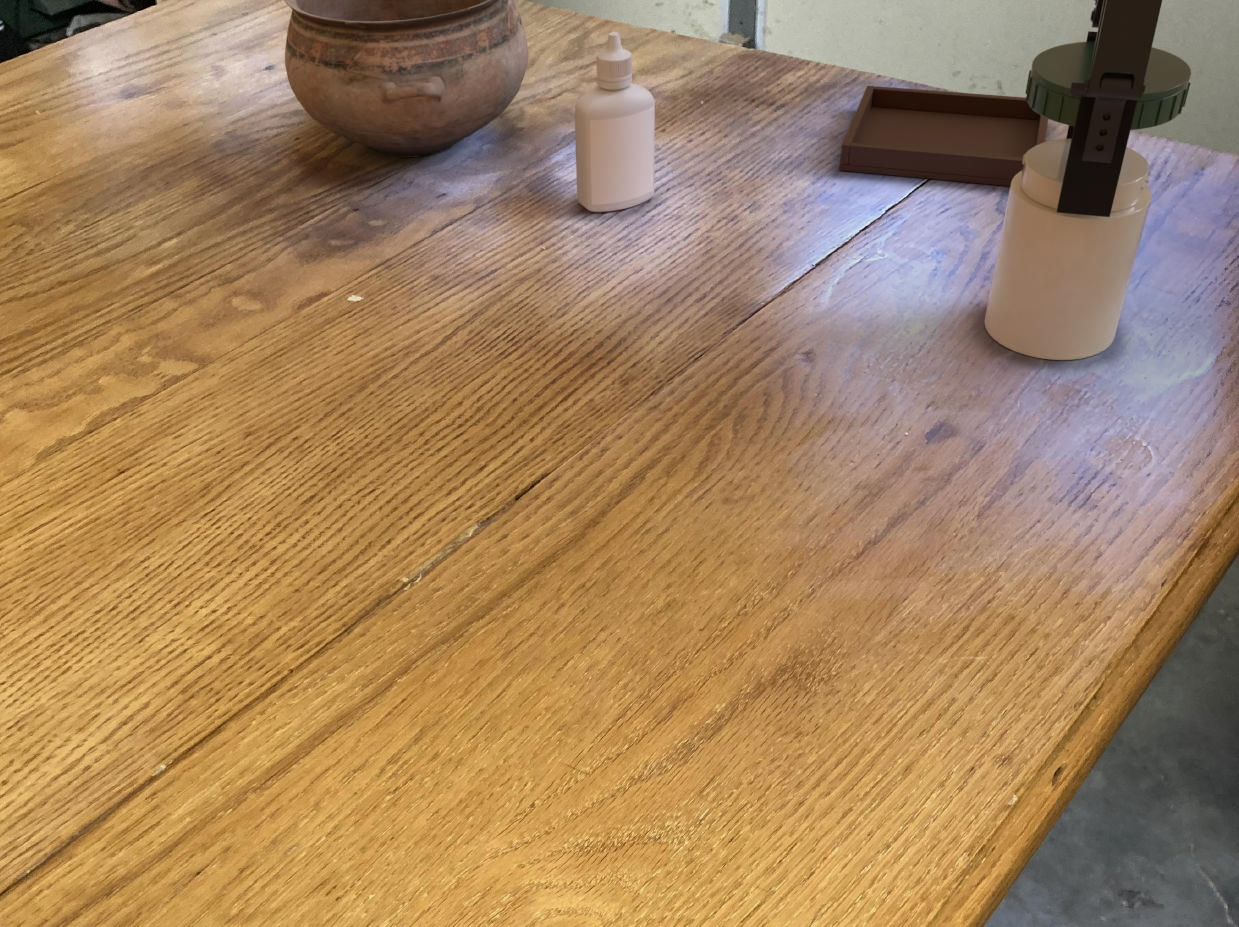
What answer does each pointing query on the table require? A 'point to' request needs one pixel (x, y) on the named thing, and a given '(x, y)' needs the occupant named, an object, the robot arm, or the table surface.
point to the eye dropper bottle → (615, 136)
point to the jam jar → (1064, 260)
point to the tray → (941, 135)
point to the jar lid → (1074, 62)
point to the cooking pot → (405, 68)
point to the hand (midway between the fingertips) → (1086, 178)
